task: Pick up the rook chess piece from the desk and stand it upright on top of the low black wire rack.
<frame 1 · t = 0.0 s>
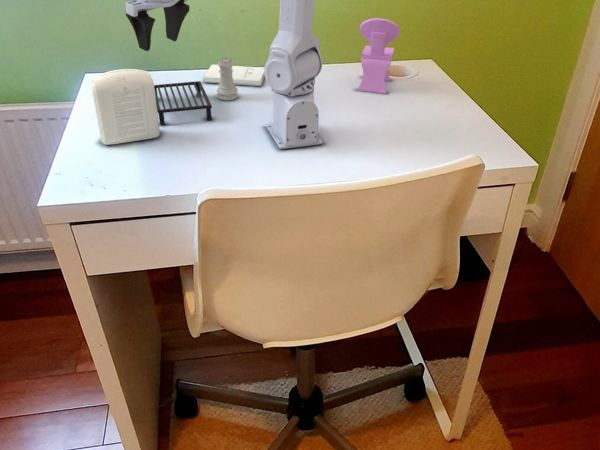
hand: (158, 44, 108), 11 cm above the table, tool pointing down, fingers open, 7 cm apart
toy chair: (374, 85, 123), on the table
rook chess piece: (227, 97, 115), on the table
rack: (181, 109, 109), on the table
photo printer: (131, 139, 98), on the table
hard drive: (235, 79, 123), on the table
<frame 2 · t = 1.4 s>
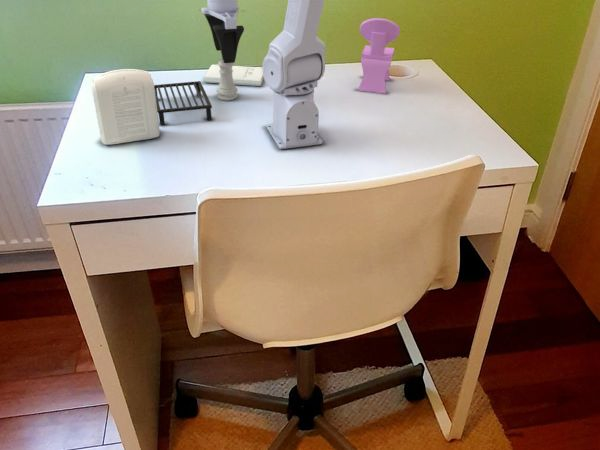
hand: (225, 56, 110), 9 cm above the table, tool pointing down, fingers open, 7 cm apart
nothing on the table moved.
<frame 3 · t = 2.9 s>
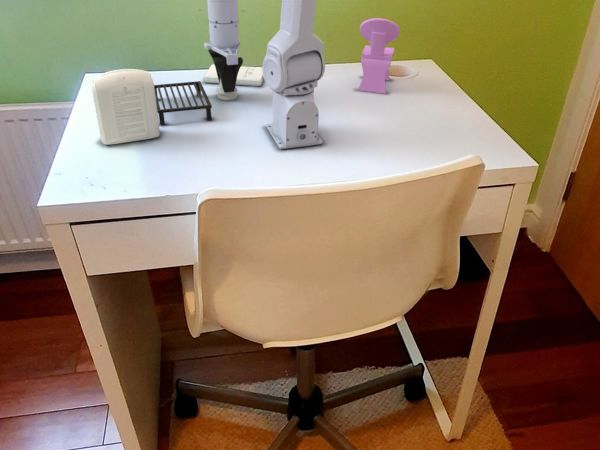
hand: (226, 87, 113), 2 cm above the table, tool pointing down, fingers closed on rook chess piece, 3 cm apart
rook chess piece: (227, 98, 115), on the table, touching gripper
everything else where it was.
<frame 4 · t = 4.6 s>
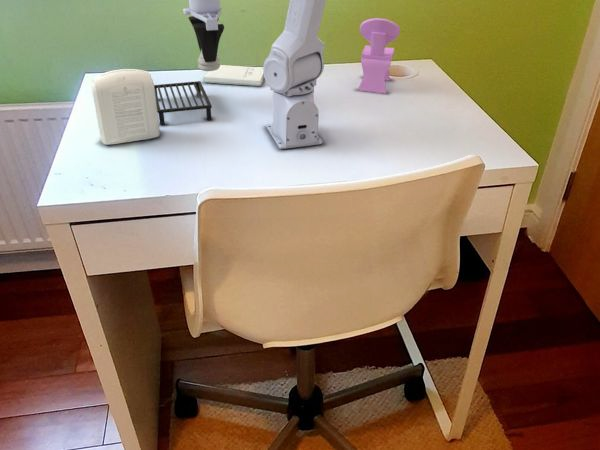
hand: (208, 57, 107), 9 cm above the table, tool pointing down, fingers closed on rook chess piece, 3 cm apart
rook chess piece: (209, 68, 109), point 7 cm above the table, touching gripper
everything else where it was.
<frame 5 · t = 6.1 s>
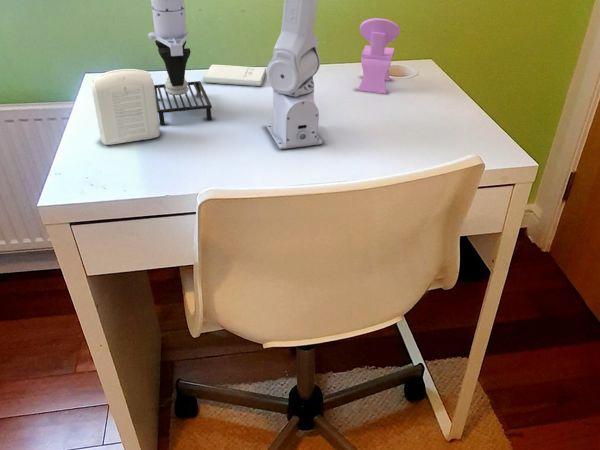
hand: (176, 81, 105), 6 cm above the table, tool pointing down, fingers closed on rook chess piece, 3 cm apart
rook chess piece: (177, 92, 107), point 4 cm above the table, touching gripper
everything else where it was.
when the fingers open (5 cm above the table, at t = 6.7 s): rook chess piece stays where it is, resting on rack.
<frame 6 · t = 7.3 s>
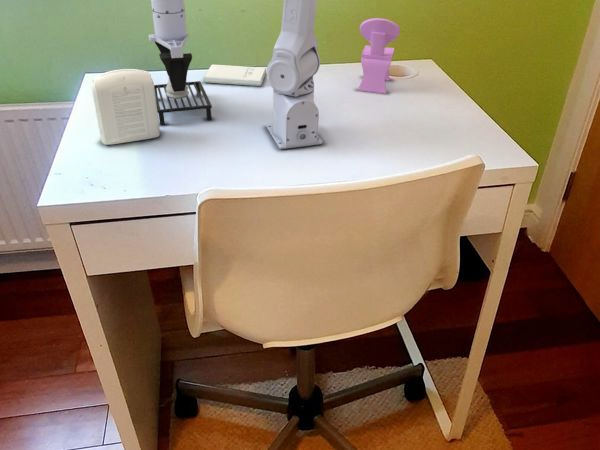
hand: (176, 83, 105), 5 cm above the table, tool pointing down, fingers open, 7 cm apart
rook chess piece: (177, 96, 107), point 3 cm above the table, touching rack
everything else where it was.
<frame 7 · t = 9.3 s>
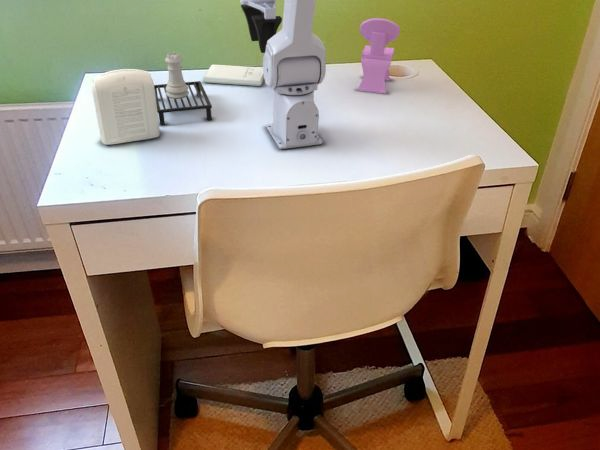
hand: (261, 46, 113), 9 cm above the table, tool pointing down, fingers open, 7 cm apart
nothing on the table moved.
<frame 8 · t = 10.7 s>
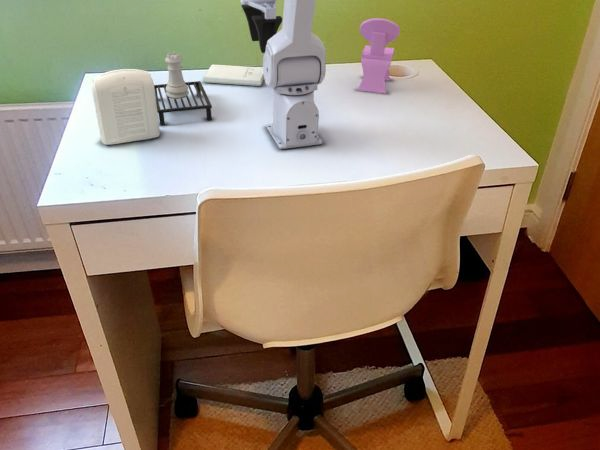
hand: (261, 46, 113), 9 cm above the table, tool pointing down, fingers open, 7 cm apart
nothing on the table moved.
at the end: rook chess piece inside the target area on the rack (0.5 cm from its centre), point 2.8 cm above the rack's base; rook chess piece tilted 0°; the gripper is holding nothing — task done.
